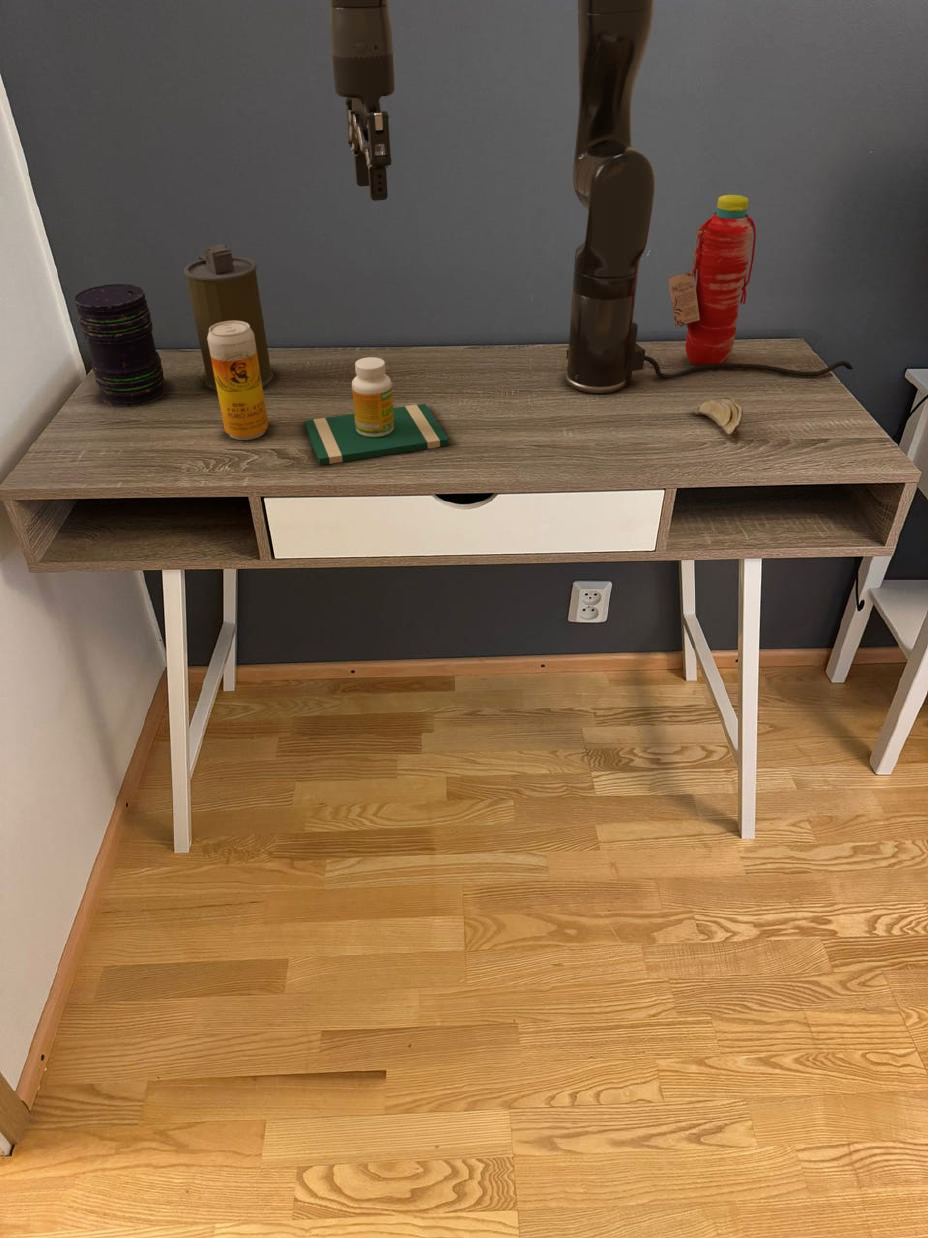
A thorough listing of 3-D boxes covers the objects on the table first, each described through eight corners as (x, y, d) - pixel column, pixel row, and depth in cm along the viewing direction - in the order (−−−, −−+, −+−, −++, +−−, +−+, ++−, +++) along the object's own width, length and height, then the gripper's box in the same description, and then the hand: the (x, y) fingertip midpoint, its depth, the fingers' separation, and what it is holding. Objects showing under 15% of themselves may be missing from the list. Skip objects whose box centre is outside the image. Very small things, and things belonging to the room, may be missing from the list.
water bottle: (665, 372, 141) (689, 203, 125) (655, 353, 147) (677, 190, 132) (740, 371, 141) (773, 202, 125) (727, 351, 147) (757, 189, 132)
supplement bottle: (388, 439, 121) (384, 372, 115) (351, 436, 122) (344, 369, 116) (398, 422, 125) (394, 356, 119) (362, 419, 126) (356, 353, 120)
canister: (284, 382, 139) (265, 249, 126) (221, 399, 134) (195, 262, 122) (255, 360, 146) (235, 232, 133) (195, 375, 141) (168, 244, 129)
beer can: (232, 445, 122) (212, 339, 113) (220, 427, 126) (200, 324, 117) (274, 435, 124) (258, 330, 115) (261, 419, 129) (245, 316, 119)
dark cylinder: (104, 411, 131) (76, 310, 122) (97, 386, 138) (69, 289, 129) (172, 399, 134) (150, 300, 125) (162, 375, 141) (140, 280, 132)
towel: (425, 409, 131) (425, 402, 130) (449, 445, 122) (449, 438, 121) (304, 426, 127) (303, 420, 126) (319, 465, 118) (319, 458, 117)
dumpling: (702, 448, 130) (751, 438, 121) (683, 437, 128) (732, 426, 119) (714, 412, 130) (764, 399, 121) (695, 400, 129) (745, 386, 120)
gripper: (406, 55, 105) (412, 202, 115) (378, 42, 115) (386, 178, 125) (344, 57, 103) (355, 207, 113) (321, 45, 113) (334, 182, 124)
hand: (371, 192), depth 119 cm, fingers open, 8 cm apart
